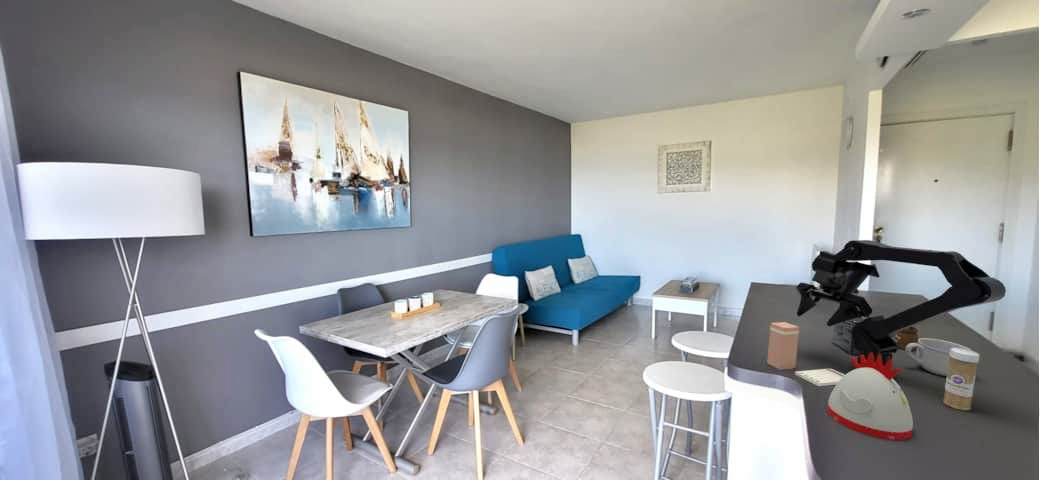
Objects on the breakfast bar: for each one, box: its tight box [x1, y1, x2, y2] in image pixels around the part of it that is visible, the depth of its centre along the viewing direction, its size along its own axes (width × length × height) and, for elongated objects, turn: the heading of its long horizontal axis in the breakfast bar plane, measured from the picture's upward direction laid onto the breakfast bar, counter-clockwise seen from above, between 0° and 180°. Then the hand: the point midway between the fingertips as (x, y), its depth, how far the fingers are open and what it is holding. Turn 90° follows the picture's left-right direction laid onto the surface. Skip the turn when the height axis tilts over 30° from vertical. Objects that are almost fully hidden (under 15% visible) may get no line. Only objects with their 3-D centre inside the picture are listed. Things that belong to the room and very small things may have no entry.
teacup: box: [904, 337, 973, 377], centre depth 113 cm, size 14×11×8 cm
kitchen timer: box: [826, 353, 914, 441], centre depth 87 cm, size 14×14×15 cm
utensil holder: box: [892, 326, 919, 352], centre depth 131 cm, size 6×6×12 cm
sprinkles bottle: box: [942, 348, 981, 411], centre depth 93 cm, size 5×5×14 cm
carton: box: [767, 321, 800, 371], centre depth 115 cm, size 5×5×12 cm
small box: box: [831, 316, 866, 356], centre depth 128 cm, size 11×6×10 cm, turn 168°
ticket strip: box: [794, 368, 846, 387], centre depth 108 cm, size 12×7×1 cm, turn 102°
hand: (812, 320), depth 114 cm, fingers open, 9 cm apart
